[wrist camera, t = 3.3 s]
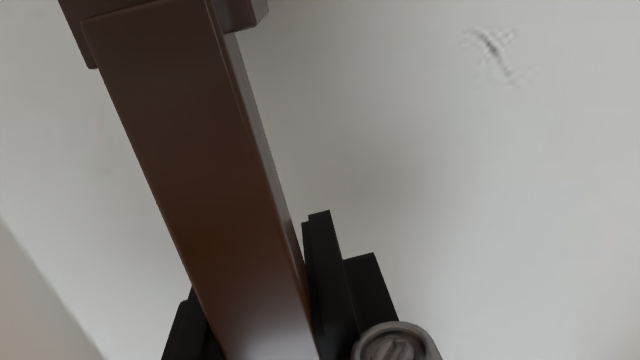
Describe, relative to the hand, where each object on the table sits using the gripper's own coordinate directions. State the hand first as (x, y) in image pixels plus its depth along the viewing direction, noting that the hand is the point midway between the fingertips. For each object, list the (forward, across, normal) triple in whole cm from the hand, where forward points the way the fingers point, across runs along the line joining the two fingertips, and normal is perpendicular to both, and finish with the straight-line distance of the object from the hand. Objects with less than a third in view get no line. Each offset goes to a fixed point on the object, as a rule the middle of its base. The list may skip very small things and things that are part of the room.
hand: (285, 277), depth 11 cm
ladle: (+4, 0, +3) cm, 5 cm away
